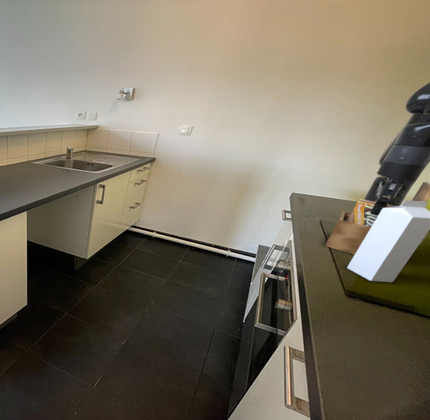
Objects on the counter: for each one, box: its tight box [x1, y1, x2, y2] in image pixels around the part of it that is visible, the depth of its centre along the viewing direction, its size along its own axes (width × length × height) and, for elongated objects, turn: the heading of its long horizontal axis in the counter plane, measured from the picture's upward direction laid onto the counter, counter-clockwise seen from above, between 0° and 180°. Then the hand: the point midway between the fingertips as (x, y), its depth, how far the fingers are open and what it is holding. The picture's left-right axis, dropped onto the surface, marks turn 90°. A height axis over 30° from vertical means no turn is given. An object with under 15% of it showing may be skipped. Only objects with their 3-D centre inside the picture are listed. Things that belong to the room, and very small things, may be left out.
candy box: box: [348, 198, 397, 227], centre depth 80 cm, size 9×4×15 cm, turn 34°
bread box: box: [325, 210, 371, 256], centre depth 81 cm, size 13×15×10 cm
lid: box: [411, 181, 430, 202], centre depth 70 cm, size 13×15×5 cm
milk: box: [346, 200, 430, 283], centre depth 64 cm, size 6×6×22 cm
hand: (374, 212), depth 78 cm, fingers open, 8 cm apart
